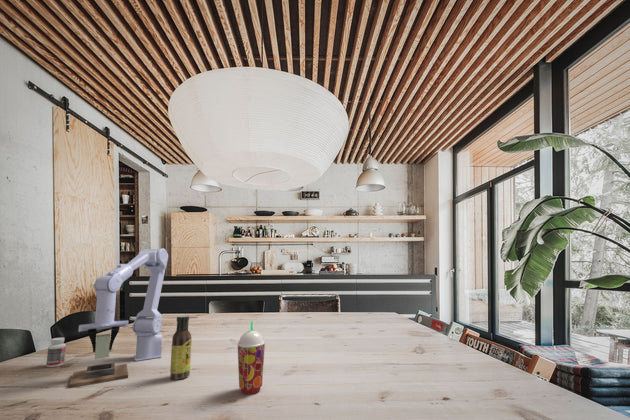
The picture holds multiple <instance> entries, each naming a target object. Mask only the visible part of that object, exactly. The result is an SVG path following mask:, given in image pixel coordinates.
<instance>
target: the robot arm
mask: <svg viewBox="0 0 630 420" xmlns="http://www.w3.org/2000/svg"><path fill="white" fill-rule="evenodd" d="M168 260H169V254H168V251H167V250H166V249H165V248H164V247H163V248H143V249H141V250H139V251H138V254H137V255H136V256H135V257H134V258H132V259H131V260H130V261H129V262H127V263H119V264H117V267H115V268H114V269H112V270H109V271H108V272H107V274H105V275H100V276H99V277H98V278H97V279H95V281H94V283H93V290H94V291H95V296H96V306H95V319H94V322H93V323H86V324H85V323H84V324H79V325H78V333H80V332H85V331H86V332H87V336H88V337H89V340H90V343H91V347H92V353H95V349H96V337H97V335H98V333H97V332H98V330H105V329H106V330H107V329H111V330H110V346H109V351H112V350H113V349H112V348H113V344H114V342H115V339H116V337H117V335H118V333H119V332H120V328H129V320H128V319H127V320H115V317H116V316H115V313H116V303H117V299H116V298H117V291H119V290H120V289H121V286H122V284H123V283H124V282H125V281H127V280H128V279H129V278H130V277H132V276H133V273H134V271H135V270H137V269H139V268H140V267H141V266H145V268H147V269H148V270H149V271H150V276H149V280H148V284H147V285H148V286H147V290H146V294H145V297H144V299H145V300H144V304H143V309H142V310H140V311H139V312H138V313H137V314H136V317H135V320H134V321H133V324H132V331H133V333H134V334H135V336H136V345H135V346H136V348H135V354H134V355H133V359H134V361H135V362H138V361H144V360H151V359H159V358H161V357H162V352H163V351H162V350H163V334H162V333H161V332H160V331H161V329H162V326H163V322H162V318H163V315H162V314H161V313H160V311H158V307H159V302H160V298H161V292H162V288H163V283H164V278H165V277H164V276H165V272H166V269H167V265H168Z"/></svg>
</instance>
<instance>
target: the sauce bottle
mask: <svg viewBox="0 0 630 420" xmlns="http://www.w3.org/2000/svg"><path fill="white" fill-rule="evenodd" d="M189 321H190V315H187V314H185V315H184V314H183V315H182V314H181V315H177V316H176V330H175V332H174V334H173V335H172V340H171V351H170V355H171V356H170V370H169V371H170V375H169V376H170V377H169V378H170V379H171V380H183V379H186V378H188V377H189V376H190V373H191V356H192V334H191V332H190V331H189Z"/></svg>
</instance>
